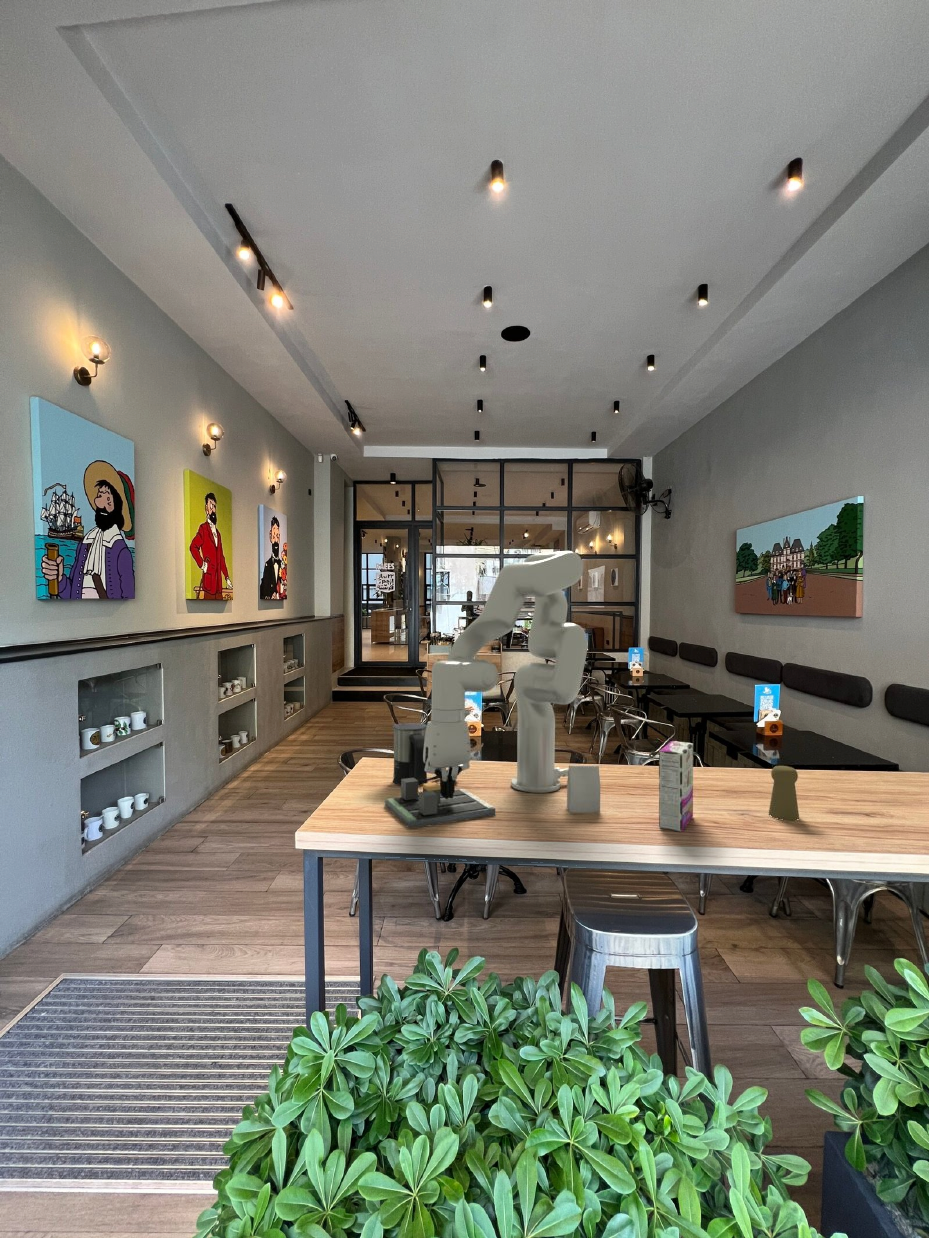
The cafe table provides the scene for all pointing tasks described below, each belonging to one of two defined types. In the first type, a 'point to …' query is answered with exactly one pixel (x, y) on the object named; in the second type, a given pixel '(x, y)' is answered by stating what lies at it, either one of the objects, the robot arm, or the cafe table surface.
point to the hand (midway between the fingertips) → (447, 796)
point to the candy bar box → (675, 785)
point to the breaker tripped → (433, 789)
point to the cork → (784, 794)
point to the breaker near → (428, 802)
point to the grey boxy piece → (583, 789)
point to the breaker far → (409, 788)
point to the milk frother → (409, 753)
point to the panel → (441, 809)
